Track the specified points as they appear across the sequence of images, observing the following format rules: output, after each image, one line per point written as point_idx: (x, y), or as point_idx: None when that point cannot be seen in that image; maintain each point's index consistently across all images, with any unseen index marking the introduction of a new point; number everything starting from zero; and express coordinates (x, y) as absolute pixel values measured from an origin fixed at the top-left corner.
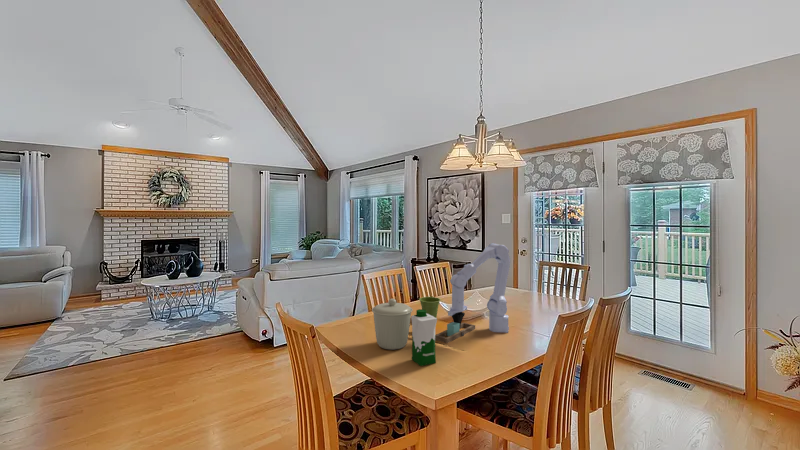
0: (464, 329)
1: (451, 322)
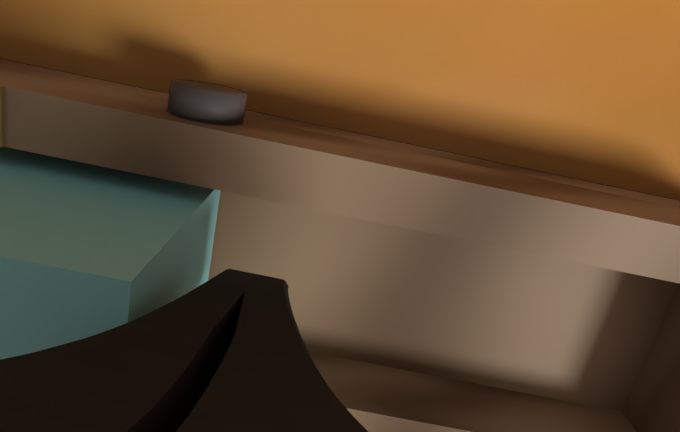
0: None
1: (29, 272)
